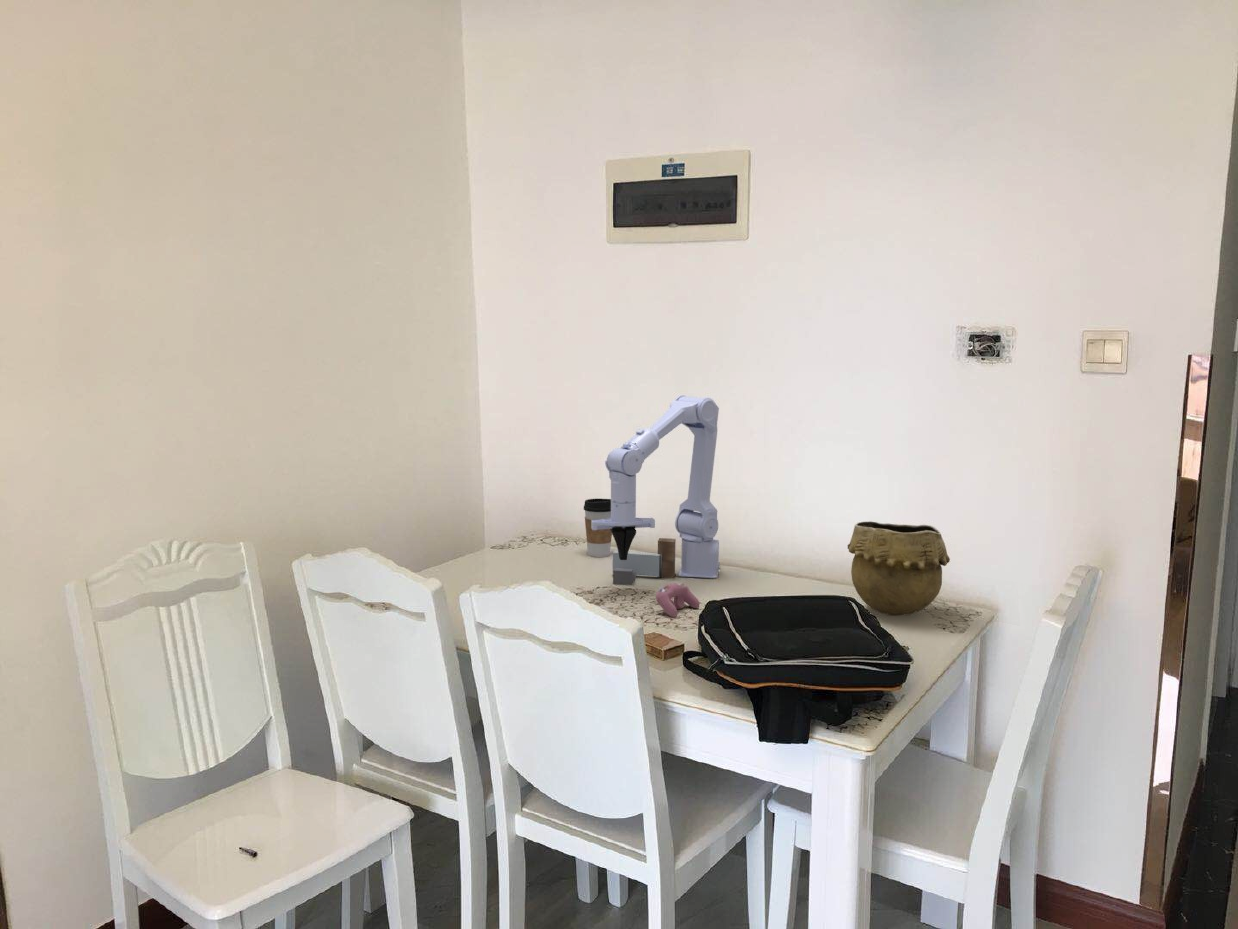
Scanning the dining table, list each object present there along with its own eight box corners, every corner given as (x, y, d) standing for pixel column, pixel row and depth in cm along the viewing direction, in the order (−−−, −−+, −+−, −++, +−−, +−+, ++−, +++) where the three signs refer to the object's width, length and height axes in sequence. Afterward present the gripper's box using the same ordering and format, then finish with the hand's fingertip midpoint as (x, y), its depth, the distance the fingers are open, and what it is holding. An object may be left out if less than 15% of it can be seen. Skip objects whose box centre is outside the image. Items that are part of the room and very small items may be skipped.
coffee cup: (601, 560, 252) (602, 503, 250) (576, 555, 257) (576, 499, 255) (620, 554, 259) (621, 499, 256) (596, 549, 264) (596, 495, 261)
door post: (674, 574, 238) (675, 538, 237) (672, 579, 234) (673, 543, 232) (658, 573, 239) (659, 538, 238) (656, 578, 234) (657, 542, 233)
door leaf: (660, 574, 236) (661, 553, 235) (658, 576, 234) (659, 555, 233) (614, 570, 239) (615, 550, 238) (612, 573, 236) (612, 552, 236)
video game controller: (687, 612, 213) (675, 582, 214) (702, 606, 210) (691, 576, 211) (660, 622, 205) (649, 591, 206) (676, 617, 202) (664, 585, 203)
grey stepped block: (636, 578, 235) (636, 564, 235) (631, 586, 228) (631, 571, 228) (618, 577, 236) (618, 563, 235) (612, 585, 229) (613, 570, 229)
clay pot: (851, 595, 222) (855, 509, 219) (948, 605, 214) (954, 517, 211) (837, 620, 203) (841, 527, 200) (943, 633, 195) (949, 537, 192)
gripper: (650, 496, 225) (649, 553, 227) (588, 498, 222) (588, 556, 224) (657, 502, 218) (656, 560, 220) (594, 504, 215) (594, 563, 217)
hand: (622, 559), depth 222 cm, fingers closed
